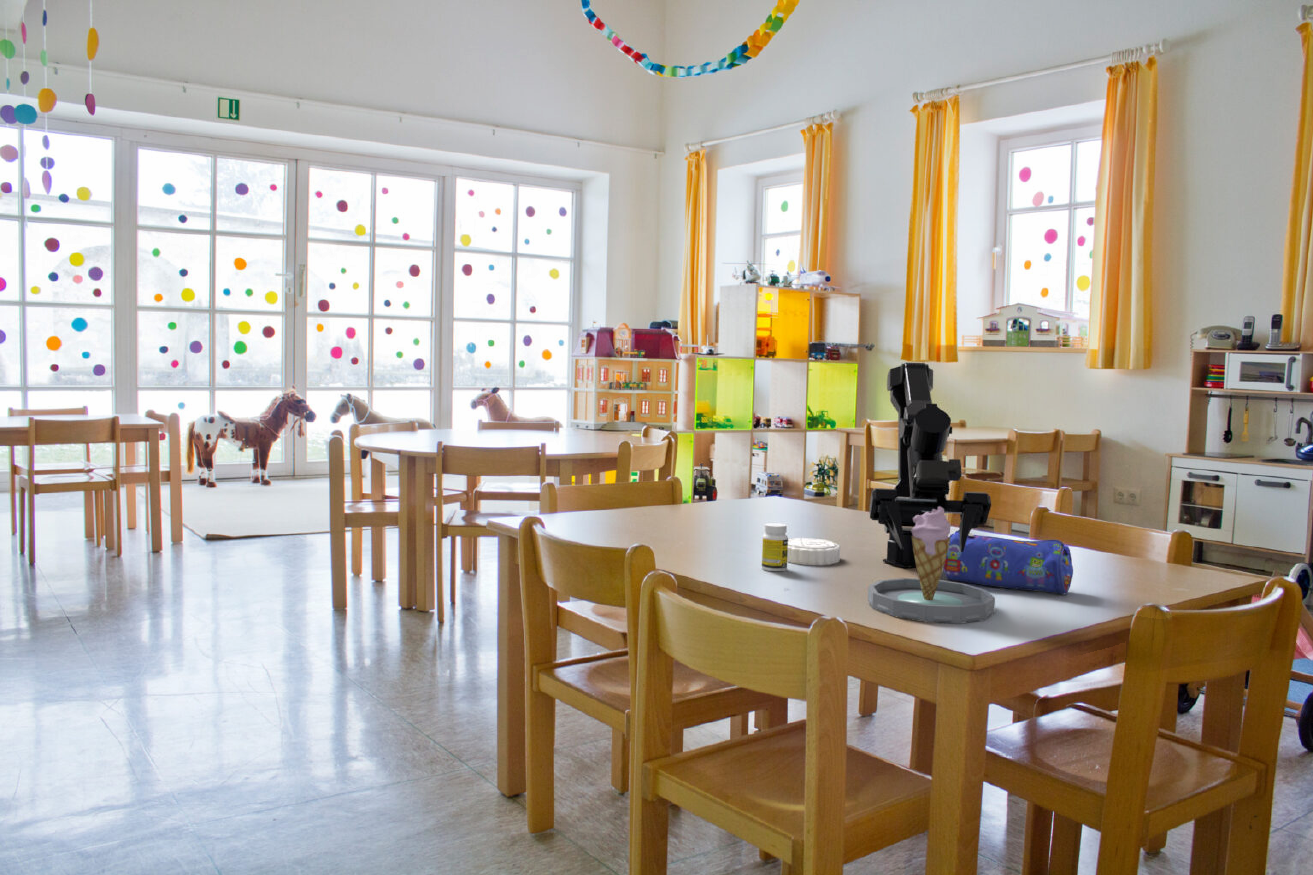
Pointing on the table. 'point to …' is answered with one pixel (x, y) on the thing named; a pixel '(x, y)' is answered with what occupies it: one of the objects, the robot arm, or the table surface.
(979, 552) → the pencil case
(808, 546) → the mooncake
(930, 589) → the ice cream cone
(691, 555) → the table surface
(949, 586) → the round tray
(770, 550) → the supplement bottle
